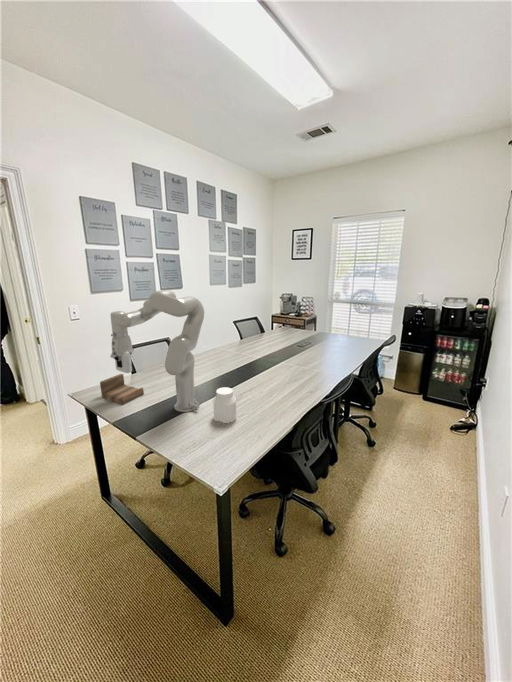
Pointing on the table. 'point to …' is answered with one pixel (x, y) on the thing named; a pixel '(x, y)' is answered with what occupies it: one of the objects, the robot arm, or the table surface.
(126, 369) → the photo printer
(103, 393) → the cleat board
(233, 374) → the table surface
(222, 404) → the jar
